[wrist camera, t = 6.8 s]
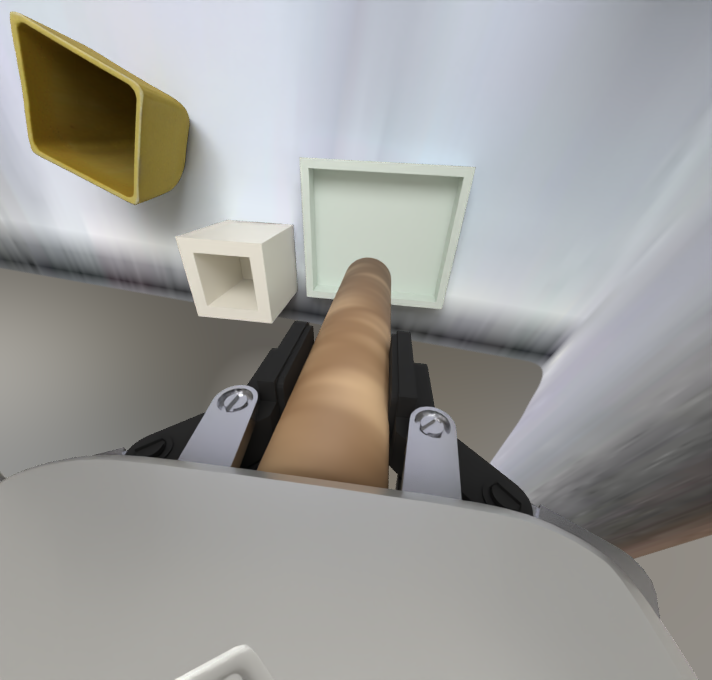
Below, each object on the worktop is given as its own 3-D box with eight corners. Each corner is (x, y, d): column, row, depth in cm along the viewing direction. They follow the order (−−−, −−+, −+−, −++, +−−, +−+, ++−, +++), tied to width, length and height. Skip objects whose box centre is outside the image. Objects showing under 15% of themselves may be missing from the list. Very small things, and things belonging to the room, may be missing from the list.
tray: (468, 167, 27) (475, 167, 24) (438, 299, 34) (441, 309, 32) (307, 157, 28) (299, 157, 26) (312, 287, 36) (307, 296, 33)
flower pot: (198, 197, 31) (136, 208, 24) (120, 154, 30) (27, 151, 22) (213, 108, 27) (141, 85, 19) (121, 52, 25) (6, 5, 18)
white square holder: (293, 224, 32) (261, 243, 24) (297, 290, 36) (272, 323, 28) (226, 219, 32) (175, 236, 25) (239, 284, 37) (198, 315, 29)
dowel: (393, 259, 19) (396, 479, 6) (388, 304, 21) (380, 551, 7) (345, 255, 19) (236, 457, 6) (344, 300, 21) (258, 533, 8)
